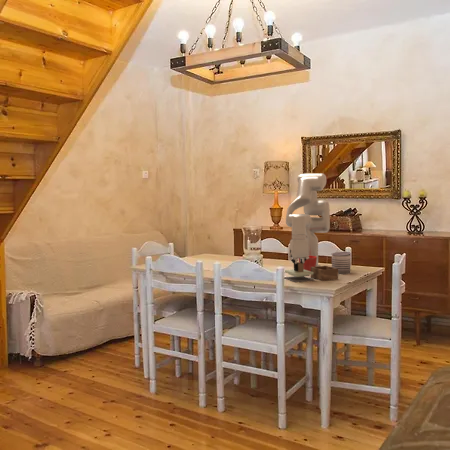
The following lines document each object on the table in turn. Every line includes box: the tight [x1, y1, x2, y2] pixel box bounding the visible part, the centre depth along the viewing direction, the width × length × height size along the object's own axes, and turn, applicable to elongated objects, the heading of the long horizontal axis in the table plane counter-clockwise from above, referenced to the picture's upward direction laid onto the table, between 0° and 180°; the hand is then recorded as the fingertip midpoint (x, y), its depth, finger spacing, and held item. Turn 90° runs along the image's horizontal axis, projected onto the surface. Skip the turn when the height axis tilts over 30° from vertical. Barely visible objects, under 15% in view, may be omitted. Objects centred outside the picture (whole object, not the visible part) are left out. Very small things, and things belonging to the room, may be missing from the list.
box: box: [310, 265, 339, 282], centre depth 289 cm, size 12×10×6 cm
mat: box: [284, 276, 316, 283], centre depth 288 cm, size 14×12×1 cm
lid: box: [284, 261, 313, 277], centre depth 287 cm, size 13×11×7 cm
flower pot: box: [298, 256, 317, 271], centre depth 308 cm, size 11×11×10 cm
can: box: [331, 251, 352, 275], centre depth 307 cm, size 11×11×12 cm
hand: (298, 270), depth 287 cm, fingers closed on lid, 2 cm apart
